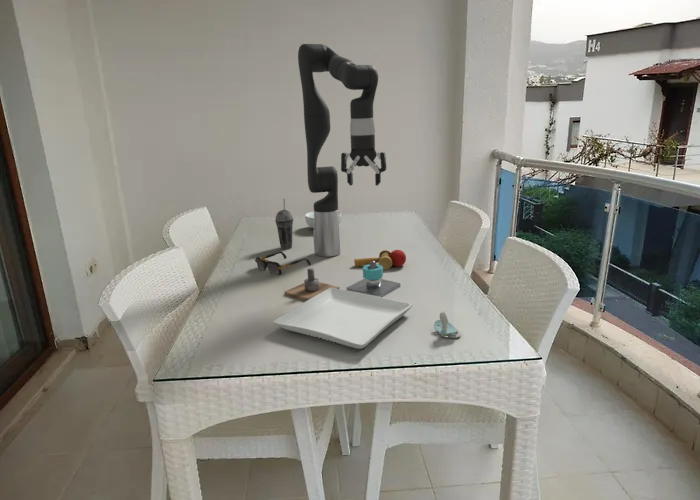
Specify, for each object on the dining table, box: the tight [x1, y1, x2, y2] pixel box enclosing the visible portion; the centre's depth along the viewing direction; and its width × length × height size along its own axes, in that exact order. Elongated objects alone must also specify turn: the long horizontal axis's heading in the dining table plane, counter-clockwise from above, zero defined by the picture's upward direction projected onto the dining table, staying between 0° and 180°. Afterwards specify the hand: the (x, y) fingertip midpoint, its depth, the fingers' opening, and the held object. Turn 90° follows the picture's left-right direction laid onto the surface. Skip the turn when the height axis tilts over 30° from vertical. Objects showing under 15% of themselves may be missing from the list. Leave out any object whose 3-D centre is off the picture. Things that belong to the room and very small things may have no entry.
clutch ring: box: [362, 263, 384, 280], centre depth 150 cm, size 6×6×3 cm
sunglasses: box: [254, 251, 312, 276], centre depth 175 cm, size 14×15×5 cm
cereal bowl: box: [304, 211, 342, 229], centre depth 225 cm, size 17×17×7 cm
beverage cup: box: [274, 198, 294, 250], centre depth 195 cm, size 7×7×20 cm
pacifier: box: [433, 311, 462, 339], centre depth 120 cm, size 7×6×6 cm
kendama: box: [354, 249, 407, 270], centre depth 171 cm, size 8×6×18 cm
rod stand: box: [284, 268, 340, 302], centre depth 150 cm, size 12×12×8 cm
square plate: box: [272, 288, 413, 350], centre depth 129 cm, size 27×27×4 cm
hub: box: [346, 261, 401, 297], centre depth 151 cm, size 12×12×9 cm
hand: (364, 185), depth 157 cm, fingers open, 8 cm apart
